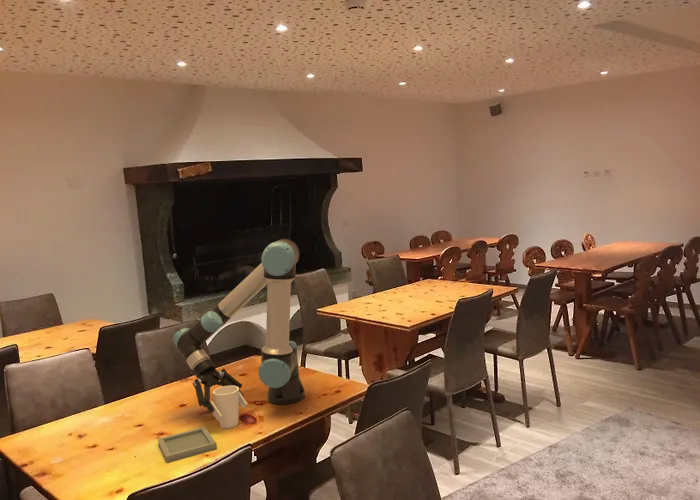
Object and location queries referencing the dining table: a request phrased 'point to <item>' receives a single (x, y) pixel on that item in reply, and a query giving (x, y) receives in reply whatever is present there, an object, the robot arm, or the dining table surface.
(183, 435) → the tray
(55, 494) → the dining table surface
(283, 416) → the dining table surface
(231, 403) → the foam cup
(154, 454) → the dining table surface
